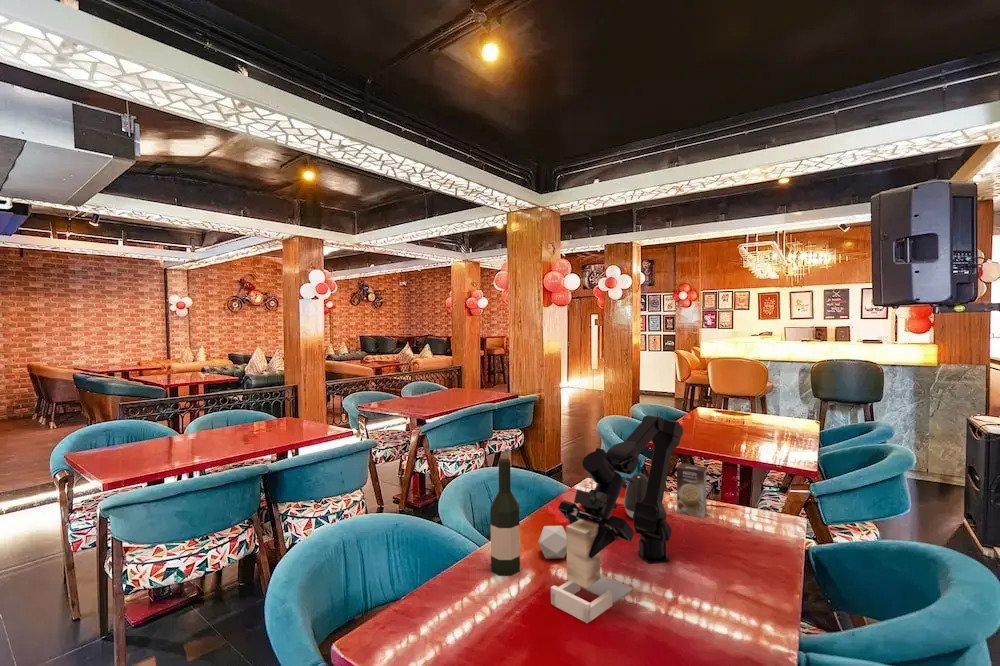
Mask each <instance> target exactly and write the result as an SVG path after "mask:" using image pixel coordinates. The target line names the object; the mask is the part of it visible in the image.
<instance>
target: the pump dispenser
mask: <svg viewBox="0 0 1000 666" xmlns="http://www.w3.org/2000/svg"><path fill="white" fill-rule="evenodd" d="M624 477H625V481H627V482H628V483H627V488H626V489H625V491H624V492H625V493H624V498H623V499H624V500H623V501H624V502H623V507H624V508H625V513H626V514H627V516H628V517H630V518H631V519H633V514H634V512H635V506H636V503H637V502H641V501H642V500H643V498H644V497H645V493H646V488H647V482H648V477H647V476H646V475H645V474H644V473H641V472H636V473H635V472H634V473H633V474H632V476H631V477H628V476H624Z"/></svg>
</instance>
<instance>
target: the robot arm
mask: <svg viewBox="0 0 1000 666" xmlns="http://www.w3.org/2000/svg"><path fill="white" fill-rule="evenodd" d="M683 434H684V429H683V426H682V425H681V423H680V422H679V421H678V420H671V419H670V420H669V419H665V418H663V417H661V416H657V415H649V414H648V415H644V416H643V417H642V421H641V422H640V423H639V424H638V426H637V427H636V428H635V429H634V430H633V431H632V432H631V434H629V436H628V437H627V438H626V439H625V440H624V441H623V442H618V443H616V444H614V445H612V446H611V447H610V448H609V449H608V450H607V451H606V450H604V449H605V448H604V449H603V448H599V447H597V448H596V449H595V451H592V452H590V453H588V454H587V455H586V456H584V458H583V460H582V468H583V469H584V470H585V472H586V473H587V474H588V475H589V477H590V478H591V479H592V480H593V481H594V483H595V484H596V486H595V488H594V489H593V488H591V489H590V490H589V491H587V492H586V491H584V490H581V489H576V492H575V497H574V501H573V502H572V501H568V500H565V499H564V500H562V501H561V502H560V503H559V505H558V506H557V510H558V511H559V512H560V513H561V514H562V516H564V517H565V518H566V519H567V520H568V522H569V525H570V524H572V523H574V522H576V521H578V520H580V519H581V520H584V521H586V522H589V523H592V524H595V525H598V534H597V536H596V538H595V541H594V543H593V545H592V547H591V550H590V553H589V557H590V558H593V557H594V556H595V555H596V554H598V553H599V552H600V553H601V551H602V550H604V549H605V548H606V547H608V546H609V545H610V544H612V543H613V542H615V541H616V542H619V540H620V539H621V540H624V541H627V542H630V543H631V542H632V540H633V538H634V533H635V534H639V537H640V539H638V550H637V554H638V555H639V556H640V557H641V558H643V559H644V560H645V561H646V563H649V564H651V563H653V564H654V563H661V562H669V561H670V558H669V557H668V556H667V542H669V541H670V540H671V538H672V531H673V529H672V527H671V526H670V524H669V523H668V522H667V512H666V509H665V506H664V503H663V502H664V501H663V500H664V496H665V491H666V490H665V489H666V484H667V481H668V480H667V478H668V474H669V469H670V463H671V459H672V454H673V453H672V452H674V450H675V449H676V448H677V447H678V446H679V445H680V442H681V439H682V437H683ZM650 442H652V444H653V453H652V457H651V462H650V467H649V473H648V477H647V479H648V482H647V488H646V493H645V497H644V498H643V500H642V501H641V502H637V503H636V506H635V512H634V514H633V518H632V523H633V526H634V528H633V527H632V526H631V525H630V524H629V522H628V521H627V519H625V518H623V517H619V516H615V515H611V514H612V512H613V510H617V508H618V505H617V504H616V502H617V500H618V499H619V498H618V497H619V495H620V493H621V491H622V489H625V490H626V488H627V485H628V483H627V482H626V480H625V477H626V476H622V475H621V474H620V473H622V474H625V475H633V474H634V473H635V470H636V469H637V467H638V465H639V464H640V458H639V457H640V455H641V453H642V452H643V451H644V450H645V448H646V447H647V446H648V445H649V443H650ZM577 504H580V507H581V508H582V510H581V508H580V507H579V506H578V505H577Z"/></svg>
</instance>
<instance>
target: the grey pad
mask: <svg viewBox="0 0 1000 666" xmlns="http://www.w3.org/2000/svg"><path fill="white" fill-rule="evenodd" d="M580 589H581V590H582V589H583V590H584V591H587V592H588V593H591V594H593V595H595V596H597V597H599V596H601V595H602V594H604V593H605V592H607V591H610V592H612V604H616V603H617V602H618V601H620V600H621V599H623V598H624V597H625V596H627V595H628V594H629V593H631V592H633V590H634V588H633V587H631V586H629V585H627V584H624V583H621V582H620V581H617V580H614V579H613V578H610V577H608V576H605V575H603V574H601V573H600V580H598V581H597V582H595V583H593V584H592V585H590V586H589V587H587V588H585V587H583V586H581V585H580Z"/></svg>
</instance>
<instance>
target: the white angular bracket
mask: <svg viewBox="0 0 1000 666" xmlns="http://www.w3.org/2000/svg"><path fill="white" fill-rule="evenodd" d="M580 591H581V588H580V585H579V584H576V583H574V582H572V581H570V580H567V581H566V582H565V583H563V584H561V585H560V586H557V585H554V584H553V585H552V586H550V605H552V606H554V607H555V608H557V609H559V610H561V611H563V612H565V613H567V614H569V615H571V616H572V617H575V618H576V619H578V620H579V621H581V622H584V623H585V624H589V623H591V622H592V621H593V620H594V619H596V618H598V617H599V616H600V615H602V614H603V613H604V612H606V611H607V610H609V609H610V608H611V607H613V606H614V605H613V604H614V603H612V592H610V591H607V592H605V593H604V594H602V595H601V596H597V598H595V599H593V600H592V601H591V602H589V601H587V600H585V599H583V598H581V597H579V596H577V595H575V594H577V593H579V592H580Z"/></svg>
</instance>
